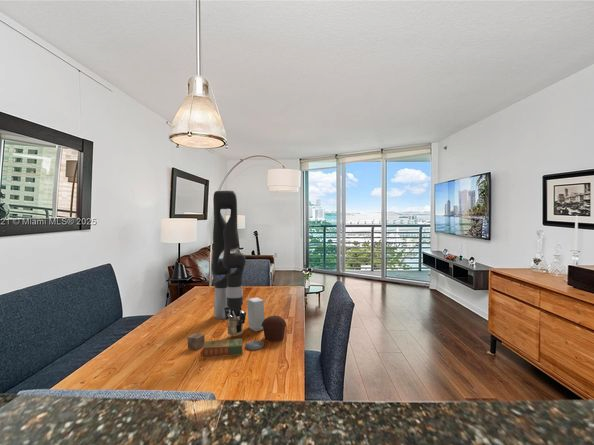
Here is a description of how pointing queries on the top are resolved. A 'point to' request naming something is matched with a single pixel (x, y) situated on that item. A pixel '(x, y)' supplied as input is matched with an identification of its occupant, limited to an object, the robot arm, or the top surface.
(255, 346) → the grey disc
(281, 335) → the muffin
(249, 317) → the skincare box
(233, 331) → the oak block
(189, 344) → the walnut block
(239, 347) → the carton
